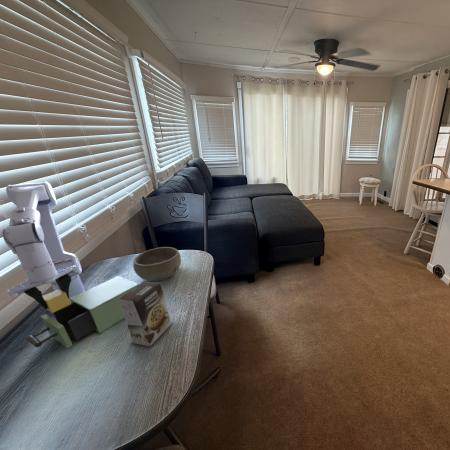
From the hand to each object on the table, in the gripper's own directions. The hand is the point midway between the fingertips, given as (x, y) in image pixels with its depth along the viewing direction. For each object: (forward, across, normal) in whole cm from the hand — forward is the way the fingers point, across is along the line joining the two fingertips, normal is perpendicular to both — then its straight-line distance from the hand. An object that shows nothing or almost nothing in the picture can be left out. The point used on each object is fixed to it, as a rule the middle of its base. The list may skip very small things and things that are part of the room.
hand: (56, 302), depth 73 cm
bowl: (+11, +34, +2) cm, 36 cm away
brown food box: (+11, +11, -27) cm, 31 cm away
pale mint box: (+10, +11, -5) cm, 16 cm away
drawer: (+10, 0, -5) cm, 11 cm away
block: (+1, 0, 0) cm, 1 cm away
